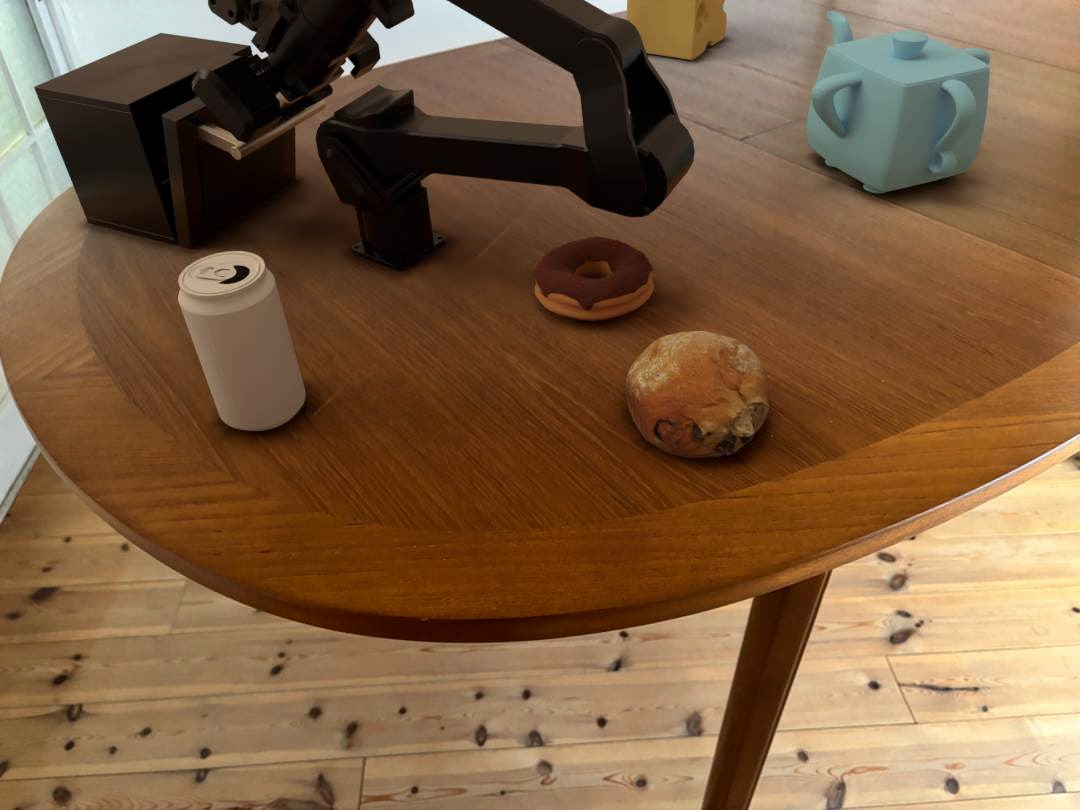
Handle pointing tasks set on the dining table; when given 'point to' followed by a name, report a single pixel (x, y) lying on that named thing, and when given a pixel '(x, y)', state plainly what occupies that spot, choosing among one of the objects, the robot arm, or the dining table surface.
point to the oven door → (223, 168)
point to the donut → (609, 294)
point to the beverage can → (242, 339)
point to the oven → (127, 128)
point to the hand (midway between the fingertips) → (255, 123)
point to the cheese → (678, 25)
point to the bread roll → (698, 394)
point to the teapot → (898, 107)
